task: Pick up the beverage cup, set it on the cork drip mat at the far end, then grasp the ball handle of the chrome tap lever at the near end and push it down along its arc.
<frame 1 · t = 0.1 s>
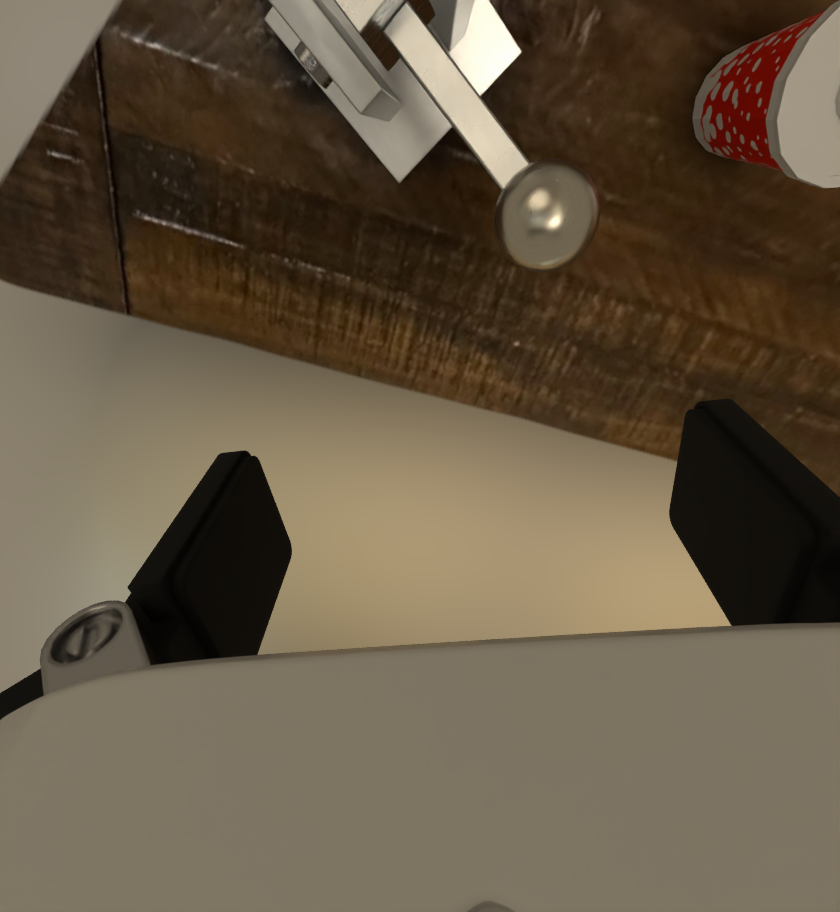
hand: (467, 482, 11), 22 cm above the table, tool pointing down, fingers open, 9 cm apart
tap: (395, 39, 24), on the table
beverage cup: (738, 103, 25), on the table
tap lever: (460, 105, 15), point 12 cm above the table, hinge at 25.0°
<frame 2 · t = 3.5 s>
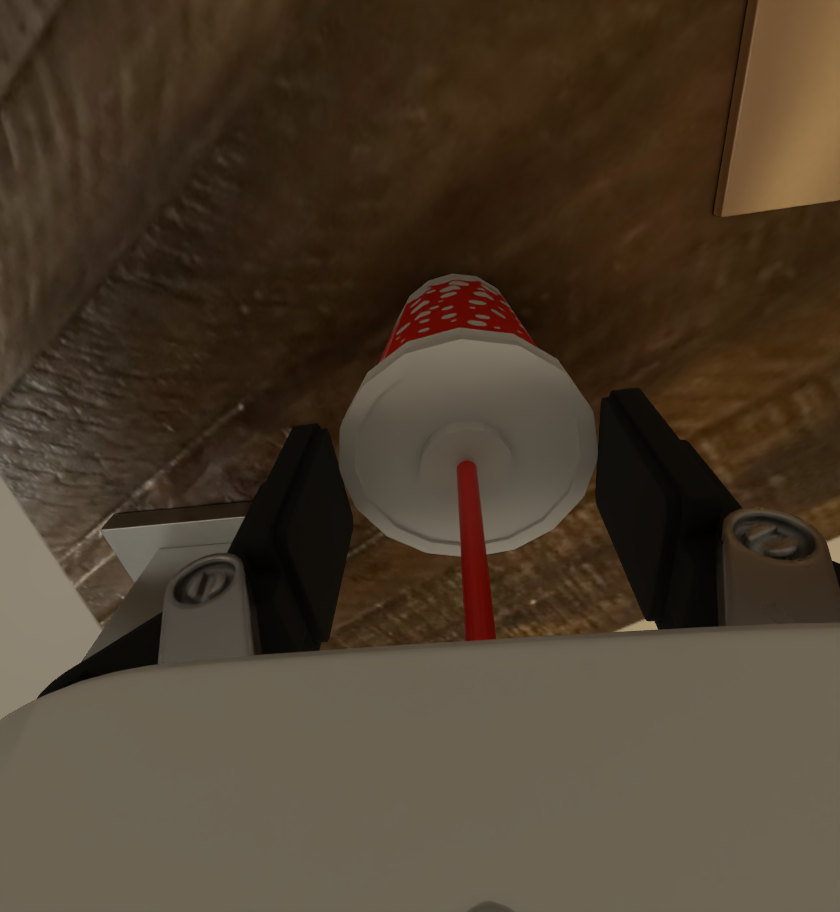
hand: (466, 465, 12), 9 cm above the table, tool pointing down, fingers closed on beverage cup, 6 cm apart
tap: (226, 563, 26), on the table
beverage cup: (455, 333, 19), on the table, touching gripper
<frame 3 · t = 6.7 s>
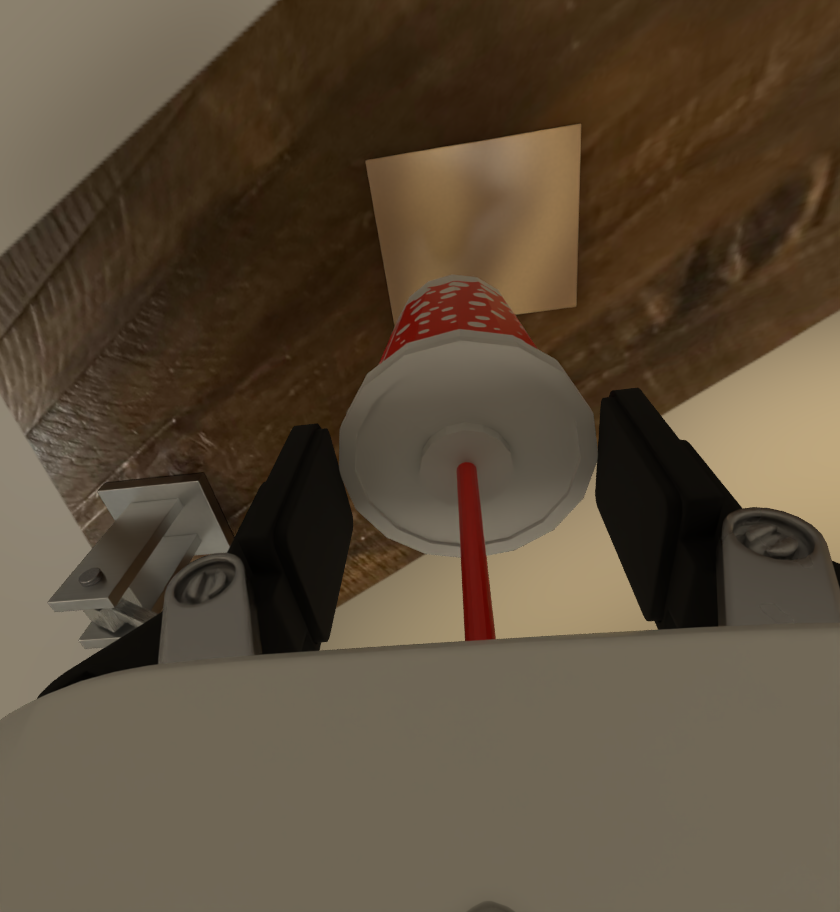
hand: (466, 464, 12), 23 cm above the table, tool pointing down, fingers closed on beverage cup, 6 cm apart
tap: (173, 514, 44), on the table
beverage cup: (455, 333, 19), point 14 cm above the table, touching gripper
drip mat: (477, 236, 31), on the table
tap lever: (151, 622, 33), point 12 cm above the table, hinge at 25.0°
when the fingers open (10 cm above the table, at t = 10.2 s): beverage cup stays where it is, resting on drip mat.
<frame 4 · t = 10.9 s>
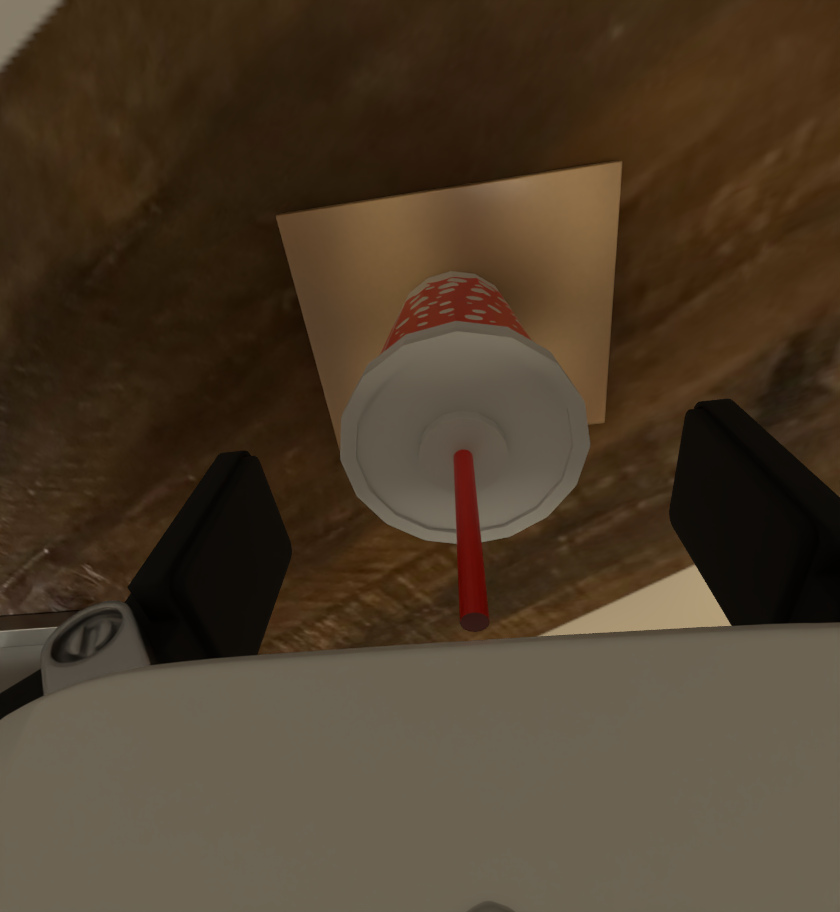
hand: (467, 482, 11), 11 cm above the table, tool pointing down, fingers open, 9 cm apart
tap: (64, 653, 33), on the table
beverage cup: (454, 329, 20), resting on drip mat
drip mat: (456, 325, 20), on the table
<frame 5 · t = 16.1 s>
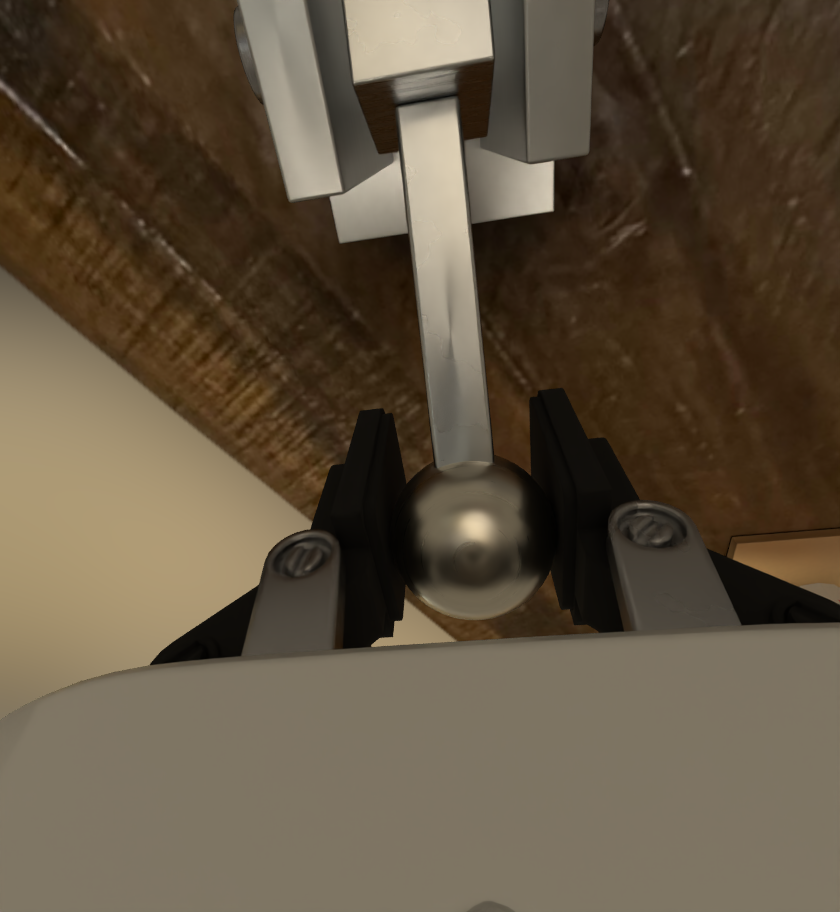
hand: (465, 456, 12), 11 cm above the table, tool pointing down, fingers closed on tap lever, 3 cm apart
tap: (428, 80, 17), on the table
beverage cup: (803, 606, 30), resting on drip mat
drip mat: (798, 602, 30), on the table
tap lever: (447, 302, 9), point 12 cm above the table, hinge at 25.0°, touching gripper
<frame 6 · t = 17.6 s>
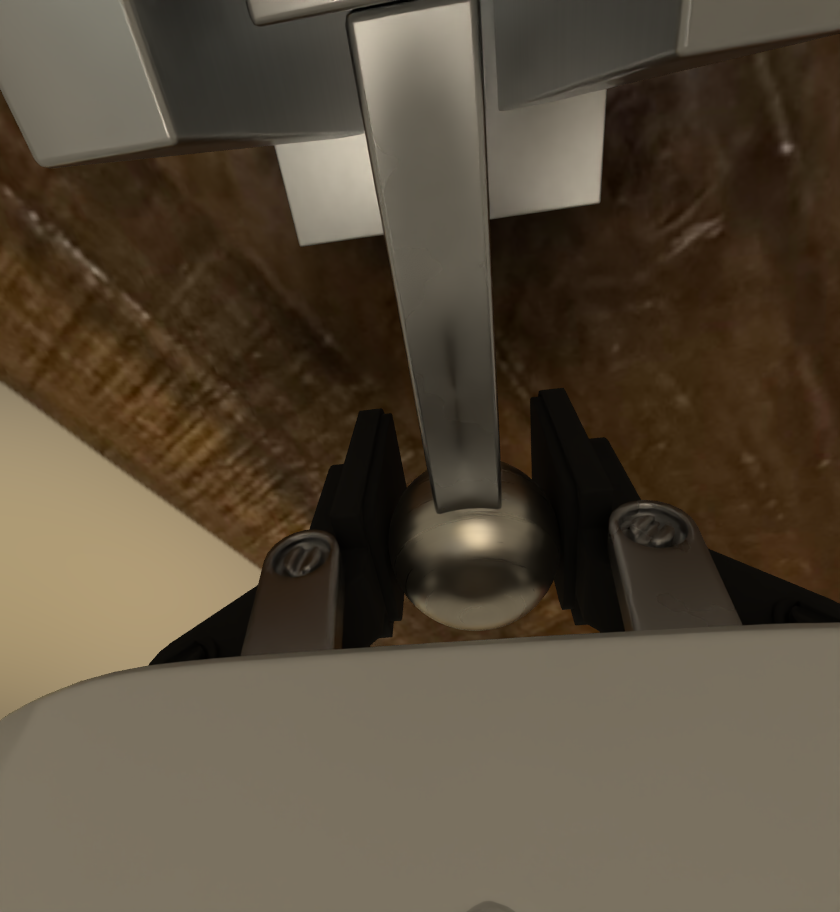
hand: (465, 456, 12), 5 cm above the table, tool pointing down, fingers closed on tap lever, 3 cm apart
tap: (424, 10, 12), on the table
tap lever: (449, 333, 6), point 9 cm above the table, hinge at -9.6°, touching gripper
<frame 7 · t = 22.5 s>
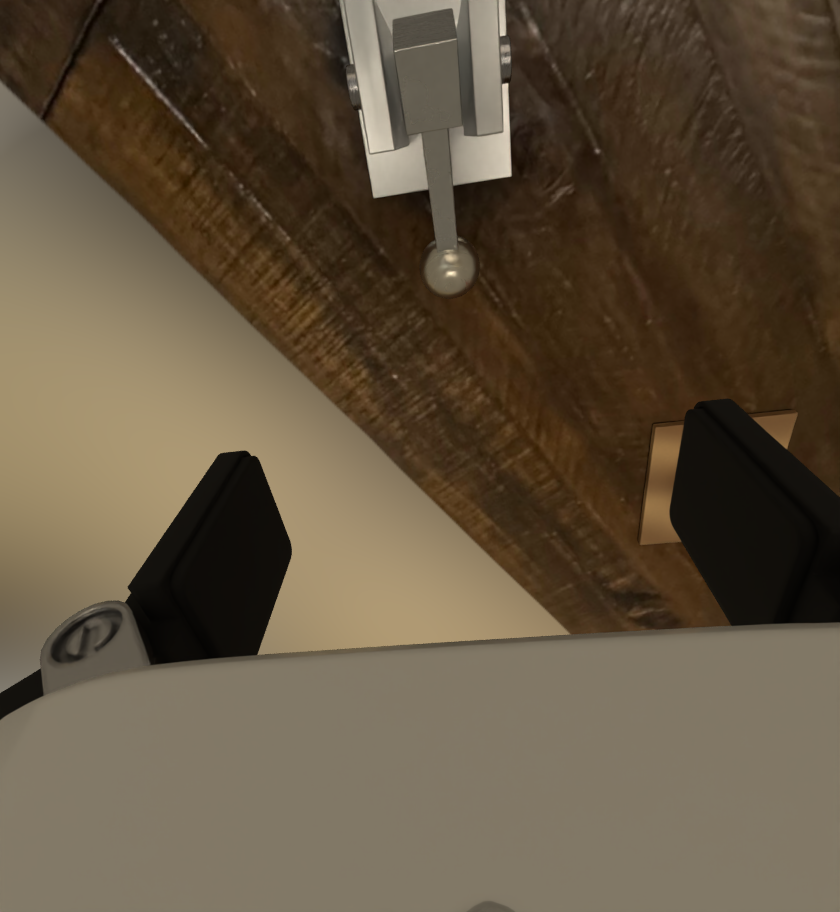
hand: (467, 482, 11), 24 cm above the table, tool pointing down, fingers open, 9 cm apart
tap: (431, 92, 27), on the table
drip mat: (708, 480, 40), on the table
tap lever: (441, 189, 22), point 8 cm above the table, hinge at -28.6°
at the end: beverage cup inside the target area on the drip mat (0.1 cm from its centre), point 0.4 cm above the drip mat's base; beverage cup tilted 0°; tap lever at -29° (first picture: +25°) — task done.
